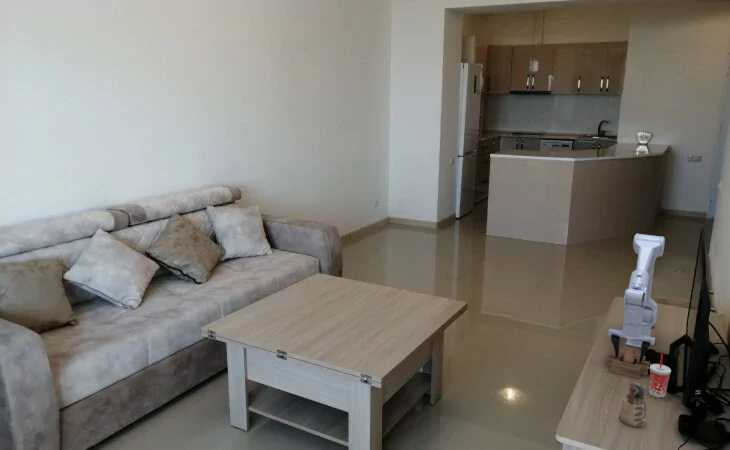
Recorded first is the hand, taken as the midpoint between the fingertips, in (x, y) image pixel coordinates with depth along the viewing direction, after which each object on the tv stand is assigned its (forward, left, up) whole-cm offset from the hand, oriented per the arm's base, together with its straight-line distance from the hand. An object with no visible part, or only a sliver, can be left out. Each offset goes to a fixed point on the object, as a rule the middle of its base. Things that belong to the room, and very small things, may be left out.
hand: (628, 358), depth 197 cm
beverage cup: (+14, +11, -4) cm, 18 cm away
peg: (0, 0, -4) cm, 4 cm away
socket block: (0, 0, -4) cm, 4 cm away
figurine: (+35, +7, -4) cm, 36 cm away
